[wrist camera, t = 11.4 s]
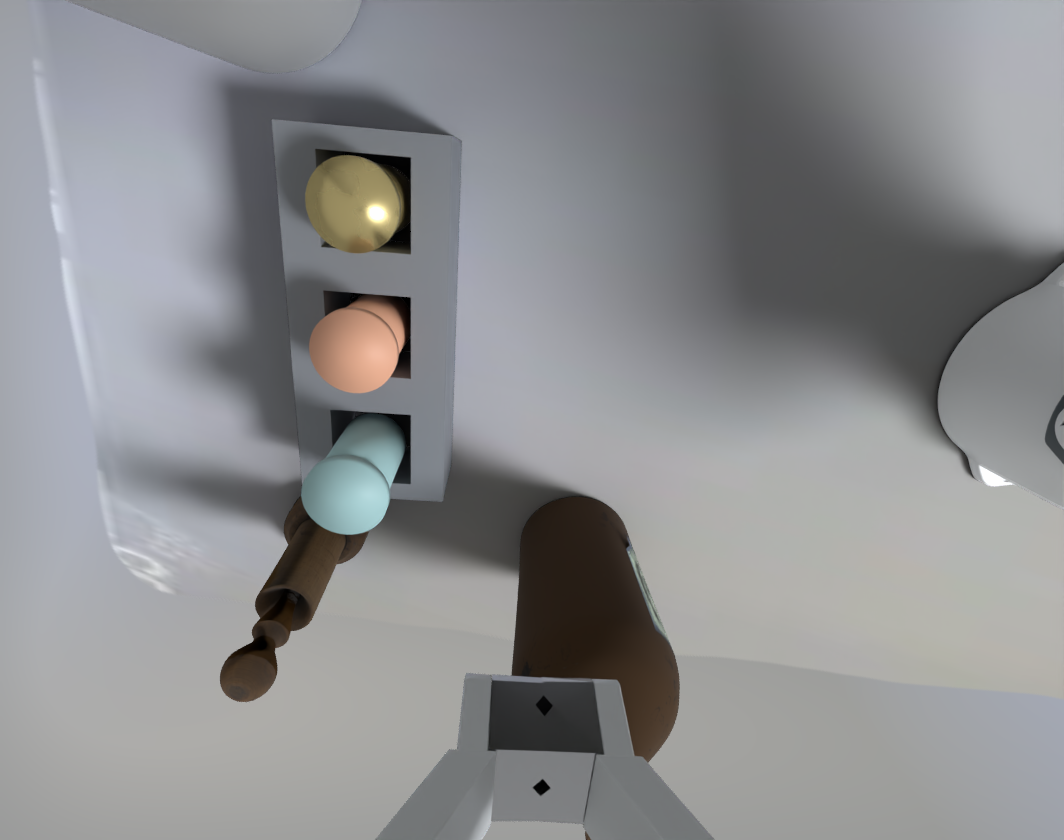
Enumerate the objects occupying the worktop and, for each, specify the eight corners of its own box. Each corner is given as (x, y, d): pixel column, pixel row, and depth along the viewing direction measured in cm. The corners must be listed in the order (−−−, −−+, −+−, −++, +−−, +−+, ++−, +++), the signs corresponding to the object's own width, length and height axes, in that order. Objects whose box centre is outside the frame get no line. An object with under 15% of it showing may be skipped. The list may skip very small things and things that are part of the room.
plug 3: (410, 411, 40) (386, 463, 33) (410, 475, 42) (388, 536, 35) (337, 406, 40) (298, 458, 33) (340, 470, 42) (304, 532, 35)
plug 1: (421, 162, 38) (398, 159, 30) (420, 241, 40) (398, 257, 32) (343, 155, 37) (301, 151, 30) (346, 235, 39) (308, 249, 32)
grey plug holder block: (461, 141, 38) (451, 135, 33) (451, 463, 47) (442, 501, 42) (307, 126, 38) (271, 119, 32) (328, 455, 47) (302, 493, 41)
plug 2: (418, 288, 40) (395, 313, 33) (417, 357, 42) (396, 396, 35) (344, 282, 40) (306, 306, 32) (347, 352, 42) (312, 390, 34)
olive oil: (517, 593, 53) (516, 916, 30) (509, 492, 49) (501, 778, 26) (633, 586, 53) (721, 904, 30) (635, 485, 49) (739, 765, 26)
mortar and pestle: (339, 563, 51) (253, 749, 35) (277, 520, 49) (156, 695, 33) (386, 516, 49) (320, 689, 33) (324, 470, 48) (221, 629, 31)
